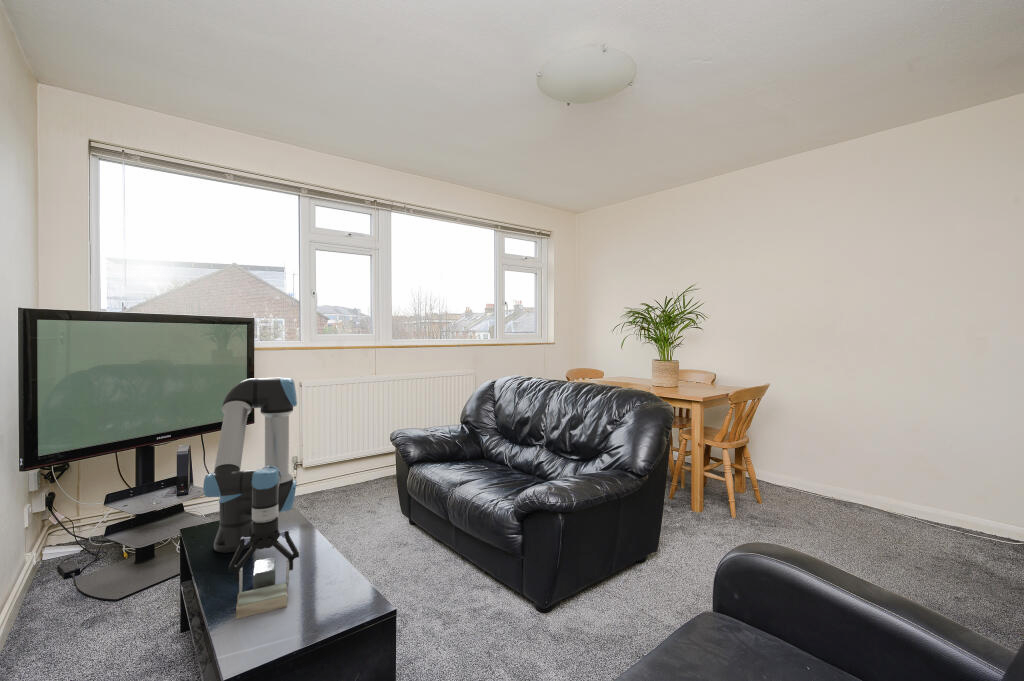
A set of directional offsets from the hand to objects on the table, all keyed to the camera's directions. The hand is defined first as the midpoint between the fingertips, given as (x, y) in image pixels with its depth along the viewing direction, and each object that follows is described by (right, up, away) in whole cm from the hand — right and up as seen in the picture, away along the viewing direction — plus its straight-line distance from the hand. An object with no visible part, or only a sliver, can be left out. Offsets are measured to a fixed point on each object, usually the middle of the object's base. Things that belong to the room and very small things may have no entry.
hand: (264, 585), depth 146 cm
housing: (0, -1, 0) cm, 1 cm away
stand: (+5, -1, -10) cm, 11 cm away
